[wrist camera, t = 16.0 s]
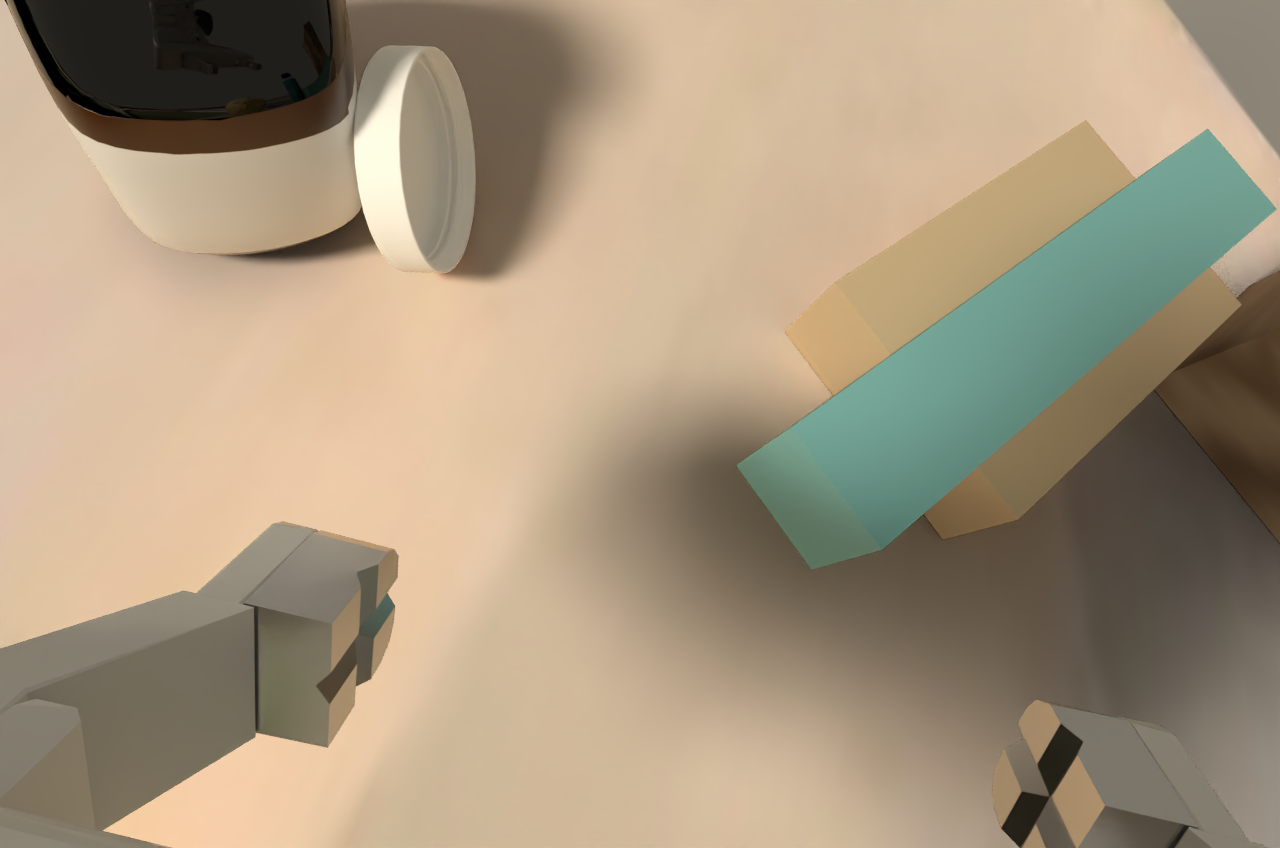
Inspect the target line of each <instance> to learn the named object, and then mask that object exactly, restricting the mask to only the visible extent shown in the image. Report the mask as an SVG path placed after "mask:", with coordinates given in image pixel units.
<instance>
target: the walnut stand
mask: <svg viewBox="0 0 1280 848" xmlns="http://www.w3.org/2000/svg"><path fill="white" fill-rule="evenodd" d="M1237 300H1238V301H1239V302H1240V303H1241V304H1242V305H1241V306H1240V307H1239V308H1238V309H1237V310H1236V311H1235V312H1234V313H1233V314H1232V315H1231V316H1230V317H1229V318H1228V319H1227V320H1225V321H1224V322H1223V323H1222V324H1221V325H1220V326H1219V327H1218V328H1217V329H1216V330H1215V331H1214V332H1213V333H1212V334H1211V335H1210V336H1209V337H1208V338H1207V339H1206V340H1205V341H1204V342H1203V343H1202V344H1201V345H1200V346H1198V347H1197V348H1196V349H1195V350H1194V351H1193V352H1192V353H1191V354H1190V355H1189V356H1188V357H1187V358H1186V359H1185V360H1184V361H1183V362H1182V363H1181V364H1180V365H1179V366H1178V367H1177V368H1176V369H1175V370H1174V371H1172V372H1171V373H1170V374H1169V375H1168V376H1167V377H1166V378H1165V379H1164V380H1163V381H1162V382H1161V383H1160V384H1159V385H1158V386H1157V387H1156V388H1155V389H1154V390H1155V391H1156V392H1157V393H1158V394H1159V396H1160V397H1161V398H1162V399H1163V401H1164V402H1165V403H1166V404H1167V406H1168V407H1169V408H1170V409H1171V410H1172V412H1173V413H1174V414H1175V415H1176V417H1177V418H1178V419H1179V420H1180V421H1181V423H1182V424H1183V425H1184V426H1185V428H1186V429H1187V430H1188V431H1189V432H1190V434H1191V435H1192V436H1193V437H1194V439H1195V440H1196V441H1197V442H1198V443H1199V445H1200V446H1201V447H1202V448H1203V450H1204V451H1205V452H1206V453H1207V454H1208V456H1209V457H1210V458H1211V459H1212V461H1213V462H1214V463H1215V464H1216V465H1217V467H1218V468H1219V469H1220V470H1221V472H1222V473H1223V474H1224V475H1225V476H1226V478H1227V479H1228V480H1229V481H1230V483H1231V484H1232V485H1233V486H1234V488H1235V489H1236V490H1237V491H1238V492H1239V494H1240V495H1241V496H1242V497H1243V499H1244V500H1245V501H1246V502H1247V503H1248V505H1249V506H1250V507H1251V508H1252V510H1253V511H1254V512H1255V513H1256V514H1257V516H1258V517H1259V518H1260V519H1261V521H1262V522H1263V523H1264V524H1265V525H1266V527H1267V528H1268V529H1269V530H1270V532H1271V533H1272V534H1273V535H1274V536H1275V538H1276V539H1277V540H1278V541H1279V543H1280V272H1277V273H1275V274H1273V275H1271V276H1269V277H1267V278H1265V279H1263V280H1261V281H1259V282H1256V283H1254V284H1252V285H1250V286H1249V287H1248V288H1247V289H1246V290H1245V291H1244V292H1243V293H1242V294H1241V295H1240V296H1239V297H1238V298H1237Z"/></svg>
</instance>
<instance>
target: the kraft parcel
mask: <svg viewBox="0 0 1280 848" xmlns="http://www.w3.org/2000/svg"><path fill="white" fill-rule="evenodd" d="M1134 180H1136V179H1135V178H1134V176H1133V175H1132V174H1131V173H1130V172H1129V171H1128V169H1127V168H1126V167H1125V166H1124V165H1123V163H1122V162H1121V161H1120V160H1119V159H1118V158H1117V156H1116V155H1115V154H1114V153H1113V152H1112V150H1111V149H1110V148H1109V147H1108V146H1107V145H1106V143H1105V142H1104V141H1103V140H1102V139H1101V137H1100V136H1099V135H1098V134H1097V133H1096V132H1095V130H1094V129H1093V128H1092V127H1091V126H1090V124H1089V123H1088V122H1087V121H1086V120H1085V121H1084V122H1082V123H1081V124H1079V125H1077V126H1076V127H1074V128H1073V129H1071V130H1070V131H1068V132H1067V133H1065V134H1064V135H1062V136H1060V137H1059V138H1057V139H1056V140H1054V141H1053V142H1051V143H1050V144H1048V145H1047V146H1045V147H1043V148H1042V149H1040V150H1039V151H1037V152H1036V153H1034V154H1033V155H1031V156H1030V157H1028V158H1026V159H1025V160H1023V161H1022V162H1020V163H1019V164H1017V165H1016V166H1014V167H1013V168H1011V169H1009V170H1008V171H1006V172H1005V173H1003V174H1002V175H1000V176H999V177H997V178H996V179H994V180H992V181H991V182H989V183H988V184H986V185H985V186H983V187H982V188H980V189H979V190H977V191H975V192H974V193H972V194H971V195H969V196H968V197H966V198H965V199H963V200H962V201H960V202H958V203H957V204H955V205H954V206H952V207H951V208H949V209H948V210H946V211H945V212H943V213H941V214H940V215H938V216H937V217H935V218H934V219H932V220H931V221H929V222H928V223H926V224H924V225H923V226H921V227H920V228H918V229H917V230H915V231H914V232H912V233H911V234H909V235H907V236H906V237H904V238H903V239H901V240H900V241H898V242H897V243H895V244H894V245H892V246H890V247H889V248H887V249H886V250H884V251H883V252H881V253H880V254H878V255H877V256H875V257H873V258H872V259H870V260H869V261H867V262H866V263H864V264H863V265H861V266H860V267H858V268H856V269H855V270H853V271H852V272H850V273H849V274H847V275H846V276H844V277H842V278H841V279H839V280H838V281H836V282H835V283H834V284H833V285H832V286H831V287H830V288H829V289H827V290H826V291H825V292H824V293H823V294H822V295H821V296H820V297H819V298H818V299H817V300H816V301H815V302H814V303H813V304H812V305H811V306H810V307H809V308H808V309H807V310H806V311H805V312H804V313H803V314H802V315H801V316H800V317H799V318H798V319H796V320H795V321H794V322H793V323H792V324H791V325H790V326H789V327H788V328H787V329H786V330H785V333H786V334H787V335H788V336H789V338H790V339H791V340H792V342H793V343H794V344H795V346H796V347H797V348H798V350H799V351H800V352H801V354H802V355H803V356H804V358H805V359H806V360H807V361H808V363H809V364H810V365H811V367H812V368H813V369H814V371H815V372H816V373H817V375H818V376H819V377H820V379H821V380H822V381H823V383H824V384H825V385H826V386H827V388H828V389H829V390H830V392H831V393H832V394H833V396H834V395H835V394H836V393H838V392H839V391H841V390H842V389H843V388H845V387H846V386H848V385H849V384H850V383H852V382H853V381H855V380H856V379H857V378H859V377H860V376H862V375H863V374H864V373H866V372H867V371H869V370H870V369H871V368H873V367H874V366H876V365H877V364H878V363H880V362H881V361H883V360H884V359H885V358H887V357H888V356H890V355H891V354H892V353H894V352H895V351H897V350H898V349H899V348H901V347H902V346H903V345H905V344H906V343H908V342H909V341H910V340H912V339H913V338H915V337H916V336H917V335H919V334H920V333H922V332H923V331H924V330H926V329H927V328H929V327H930V326H931V325H933V324H934V323H936V322H937V321H938V320H940V319H941V318H943V317H944V316H945V315H947V314H948V313H950V312H951V311H952V310H954V309H955V308H957V307H958V306H959V305H961V304H962V303H964V302H965V301H966V300H968V299H969V298H971V297H972V296H973V295H975V294H976V293H977V292H979V291H980V290H982V289H983V288H984V287H986V286H987V285H989V284H990V283H991V282H993V281H994V280H996V279H997V278H998V277H1000V276H1001V275H1003V274H1004V273H1005V272H1007V271H1008V270H1010V269H1011V268H1012V267H1014V266H1015V265H1017V264H1018V263H1019V262H1021V261H1022V260H1024V259H1025V258H1026V257H1028V256H1029V255H1031V254H1032V253H1033V252H1035V251H1036V250H1038V249H1039V248H1040V247H1042V246H1043V245H1045V244H1046V243H1047V242H1049V241H1050V240H1052V239H1053V238H1054V237H1056V236H1057V235H1058V234H1060V233H1061V232H1063V231H1064V230H1065V229H1067V228H1068V227H1070V226H1071V225H1072V224H1074V223H1075V222H1077V221H1078V220H1079V219H1081V218H1082V217H1084V216H1085V215H1086V214H1088V213H1089V212H1091V211H1092V210H1093V209H1095V208H1096V207H1098V206H1099V205H1100V204H1102V203H1103V202H1105V201H1106V200H1107V199H1109V198H1110V197H1112V196H1113V195H1114V194H1116V193H1117V192H1119V191H1120V190H1121V189H1123V188H1124V187H1126V186H1127V185H1128V184H1130V183H1131V182H1133V181H1134ZM1241 305H1242V304H1241V303H1240V302H1239V301H1238V300H1237V298H1236V297H1235V296H1234V295H1233V294H1232V292H1231V291H1230V290H1229V289H1228V288H1227V287H1226V285H1225V284H1224V283H1223V282H1222V281H1221V279H1220V278H1219V277H1218V276H1217V275H1216V274H1215V272H1214V271H1213V270H1212V269H1211V268H1210V267H1209V268H1208V269H1207V270H1205V271H1204V272H1203V273H1202V274H1201V275H1200V276H1198V277H1197V278H1196V279H1195V280H1194V281H1193V282H1192V283H1190V284H1189V285H1188V286H1187V287H1186V288H1185V289H1183V290H1182V291H1181V292H1180V293H1179V294H1178V295H1176V296H1175V297H1174V298H1173V299H1172V300H1171V301H1170V302H1168V303H1167V304H1166V305H1165V306H1164V307H1163V308H1161V309H1160V310H1159V311H1158V312H1157V313H1156V314H1154V315H1153V316H1152V317H1151V318H1150V319H1149V320H1148V321H1146V322H1145V323H1144V324H1143V325H1142V326H1141V327H1139V328H1138V329H1137V330H1136V331H1135V332H1134V333H1132V334H1131V335H1130V336H1129V337H1128V338H1127V339H1126V340H1124V341H1123V342H1122V343H1121V344H1120V345H1119V346H1117V347H1116V348H1115V349H1114V350H1113V351H1112V352H1110V353H1109V354H1108V355H1107V356H1106V357H1105V358H1104V359H1102V360H1101V361H1100V362H1099V363H1098V364H1097V365H1095V366H1094V367H1093V368H1092V369H1091V370H1090V371H1089V372H1087V373H1086V374H1085V375H1084V376H1083V377H1082V378H1080V379H1079V380H1078V381H1077V382H1076V383H1075V384H1073V385H1072V386H1071V387H1070V388H1069V389H1068V390H1067V391H1065V392H1064V393H1063V394H1062V395H1061V396H1060V397H1058V398H1057V399H1056V400H1055V401H1054V402H1053V403H1051V404H1050V405H1049V406H1048V407H1047V408H1046V409H1045V410H1043V411H1042V412H1041V413H1040V414H1039V415H1038V416H1036V417H1035V418H1034V419H1033V420H1032V421H1031V422H1029V423H1028V424H1027V425H1026V426H1025V427H1024V428H1023V429H1021V430H1020V431H1019V432H1018V433H1017V434H1016V435H1014V436H1013V437H1012V438H1011V439H1010V440H1009V441H1007V442H1006V443H1005V444H1004V445H1003V446H1002V447H1001V448H999V449H998V450H997V451H996V452H995V453H994V454H992V455H991V456H990V457H989V458H988V459H987V460H985V461H984V462H983V463H982V464H981V465H980V466H979V467H977V468H976V469H975V470H974V471H973V472H972V473H970V474H969V475H968V476H967V477H966V478H965V479H963V480H962V481H961V482H960V483H959V484H958V485H957V486H955V487H954V488H953V489H952V490H951V491H950V492H948V493H947V494H946V495H945V496H944V497H943V498H942V499H940V500H939V501H938V502H937V503H936V504H935V505H933V506H932V507H931V508H930V509H929V510H928V511H926V512H925V513H924V515H925V517H926V518H927V519H928V521H929V522H930V523H931V525H932V526H933V527H934V529H935V530H936V531H937V532H938V534H939V535H940V536H941V538H942V539H943V540H944V539H948V538H952V537H955V536H959V535H963V534H967V533H970V532H974V531H978V530H982V529H985V528H989V527H993V526H997V525H1000V524H1004V523H1008V522H1012V521H1015V520H1019V519H1020V518H1021V517H1022V516H1023V515H1024V514H1025V513H1026V512H1027V511H1028V510H1029V509H1030V508H1031V507H1032V506H1033V505H1034V504H1035V503H1036V502H1037V501H1038V500H1039V499H1041V498H1042V497H1043V496H1044V495H1045V494H1046V493H1047V492H1048V491H1049V490H1050V489H1051V488H1052V487H1053V486H1054V485H1055V484H1056V483H1057V482H1058V481H1059V480H1060V479H1061V478H1062V477H1063V476H1064V475H1065V474H1066V473H1068V472H1069V471H1070V470H1071V469H1072V468H1073V467H1074V466H1075V465H1076V464H1077V463H1078V462H1079V461H1080V460H1081V459H1082V458H1083V457H1084V456H1085V455H1086V454H1087V453H1088V452H1089V451H1090V450H1091V449H1092V448H1094V447H1095V446H1096V445H1097V444H1098V443H1099V442H1100V441H1101V440H1102V439H1103V438H1104V437H1105V436H1106V435H1107V434H1108V433H1109V432H1110V431H1111V430H1112V429H1113V428H1114V427H1115V426H1116V425H1117V424H1118V423H1119V422H1121V421H1122V420H1123V419H1124V418H1125V417H1126V416H1127V415H1128V414H1129V413H1130V412H1131V411H1132V410H1133V409H1134V408H1135V407H1136V406H1137V405H1138V404H1139V403H1140V402H1141V401H1142V400H1143V399H1144V398H1145V397H1147V396H1148V395H1149V394H1150V393H1151V392H1152V391H1153V390H1154V389H1155V388H1156V387H1157V386H1158V385H1159V384H1160V383H1161V382H1162V381H1163V380H1164V379H1165V378H1166V377H1167V376H1168V375H1169V374H1170V373H1171V372H1172V371H1174V370H1175V369H1176V368H1177V367H1178V366H1179V365H1180V364H1181V363H1182V362H1183V361H1184V360H1185V359H1186V358H1187V357H1188V356H1189V355H1190V354H1191V353H1192V352H1193V351H1194V350H1195V349H1196V348H1197V347H1198V346H1200V345H1201V344H1202V343H1203V342H1204V341H1205V340H1206V339H1207V338H1208V337H1209V336H1210V335H1211V334H1212V333H1213V332H1214V331H1215V330H1216V329H1217V328H1218V327H1219V326H1220V325H1221V324H1222V323H1223V322H1224V321H1225V320H1227V319H1228V318H1229V317H1230V316H1231V315H1232V314H1233V313H1234V312H1235V311H1236V310H1237V309H1238V308H1239V307H1240V306H1241Z"/></svg>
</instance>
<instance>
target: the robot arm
mask: <svg viewBox="0 0 1280 848" xmlns="http://www.w3.org/2000/svg"><path fill="white" fill-rule="evenodd" d="M397 578H398V554H397V553H396V551H395V549H392V548H388V547H384V546H380V545H376V544H372V543H368V542H364V541H360V540H356V539H353V538H349V537H345V536H341V535H337V534H333V533H329V532H325V531H318V530H316V529H312V528H308V527H304V526H300V525H296V524H291V523H287V522H278V523H274V524H272V525H271V526H270V527H268V528H267V529H266V530H265V531H264V532H263V533H262V534H261V535H260V536H259V537H257V538H256V539H255V540H254V541H253V542H252V543H251V544H250V545H249V546H248V547H246V548H245V549H244V550H243V551H242V552H241V553H240V554H239V555H238V556H237V557H235V558H234V559H233V560H232V561H231V562H230V563H229V564H228V565H227V566H226V567H224V568H223V569H222V570H221V571H220V572H219V573H218V574H217V575H216V576H215V577H213V578H212V579H211V580H210V581H209V582H208V583H207V584H206V585H205V586H204V587H202V588H201V589H200V590H199V591H198V592H197V593H192V592H187V591H181V592H178V593H175V594H172V595H168V596H165V597H162V598H159V599H156V600H153V601H150V602H146V603H143V604H140V605H137V606H134V607H131V608H127V609H124V610H121V611H118V612H115V613H112V614H109V615H105V616H102V617H99V618H96V619H93V620H90V621H86V622H83V623H80V624H77V625H74V626H71V627H68V628H64V629H61V630H58V631H55V632H52V633H49V634H45V635H42V636H39V637H36V638H33V639H30V640H27V641H23V642H20V643H17V644H14V645H11V646H8V647H4V648H1V649H0V848H171V847H167V846H162V845H158V844H154V843H150V842H146V841H142V840H138V839H134V838H130V837H125V836H121V835H117V834H113V833H109V832H105V831H102V830H104V829H106V828H107V827H109V826H110V825H112V824H114V823H115V822H117V821H119V820H120V819H122V818H124V817H125V816H127V815H128V814H130V813H132V812H133V811H135V810H137V809H138V808H140V807H142V806H143V805H145V804H146V803H148V802H150V801H151V800H153V799H155V798H156V797H158V796H160V795H161V794H163V793H164V792H166V791H168V790H169V789H171V788H173V787H174V786H176V785H178V784H179V783H181V782H182V781H184V780H186V779H187V778H189V777H191V776H192V775H194V774H196V773H197V772H199V771H200V770H202V769H204V768H205V767H207V766H209V765H210V764H212V763H213V762H215V761H217V760H218V759H220V758H222V757H223V756H225V755H227V754H228V753H230V752H231V751H233V750H235V749H236V748H238V747H240V746H241V745H243V744H245V743H246V742H248V741H249V740H251V739H253V738H254V737H255V736H256V733H260V734H265V735H270V736H275V737H279V738H284V739H289V740H294V741H299V742H303V743H308V744H313V745H318V746H323V747H327V748H328V746H329V745H330V743H331V742H332V740H333V738H334V737H335V735H336V734H337V732H338V731H339V729H340V727H341V726H342V724H343V723H344V721H345V719H346V718H347V716H348V715H349V713H350V712H351V710H352V708H353V707H354V703H355V689H356V686H358V685H360V684H362V683H364V682H366V681H368V680H370V679H371V678H372V676H373V675H374V673H375V671H376V670H377V668H378V666H379V665H380V663H381V661H382V658H383V656H384V653H385V651H386V648H387V646H388V643H389V641H390V636H391V632H392V627H393V623H394V614H395V605H394V603H393V602H392V600H391V599H390V597H389V595H388V594H387V592H388V591H389V589H390V588H391V586H392V585H393V583H394V582H395V581H396V579H397ZM1018 724H1019V727H1020V730H1021V733H1022V736H1023V739H1021V740H1020V741H1018V742H1016V743H1014V744H1012V745H1010V746H1009V747H1007V748H1005V749H1004V750H1003V752H1002V754H1001V756H1000V759H999V761H998V763H997V765H996V767H995V769H994V778H993V787H992V795H993V803H994V810H995V812H996V815H997V818H998V821H999V824H1000V827H1001V829H1002V830H1003V831H1004V832H1005V833H1006V834H1007V835H1008V836H1009V837H1010V838H1011V839H1012V840H1013V841H1014V842H1015V843H1016V844H1017V845H1018V847H1019V848H1267V847H1266V846H1264V845H1262V844H1258V843H1253V842H1250V841H1249V840H1248V838H1247V837H1246V835H1245V834H1244V833H1243V831H1242V830H1241V828H1240V827H1239V826H1238V824H1237V823H1236V821H1235V820H1234V818H1233V817H1232V816H1231V814H1230V813H1229V811H1228V810H1227V809H1226V807H1225V806H1224V804H1223V803H1222V802H1221V800H1220V799H1219V797H1218V796H1217V795H1216V793H1215V792H1214V790H1213V789H1212V787H1211V786H1210V785H1209V783H1208V782H1207V780H1206V779H1205V778H1204V776H1203V775H1202V773H1201V772H1200V771H1199V769H1198V768H1197V766H1196V765H1195V764H1194V762H1193V761H1192V759H1191V758H1190V756H1189V755H1188V754H1187V752H1186V751H1185V749H1184V748H1183V747H1182V745H1181V744H1180V742H1179V741H1178V740H1177V738H1176V737H1175V735H1174V734H1173V733H1171V732H1170V731H1168V730H1167V729H1166V728H1164V727H1163V726H1161V725H1157V724H1152V723H1147V722H1143V721H1138V720H1133V719H1128V718H1123V717H1117V718H1116V717H1112V716H1107V715H1103V714H1098V713H1094V712H1090V711H1085V710H1081V709H1077V708H1072V707H1068V706H1063V705H1059V704H1055V703H1050V702H1046V701H1041V700H1035V701H1034V702H1033V703H1032V704H1030V705H1029V706H1028V707H1027V708H1026V710H1025V711H1024V713H1023V715H1022V717H1021V718H1020V720H1019V722H1018Z"/></svg>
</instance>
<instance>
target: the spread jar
mask: <svg viewBox="0 0 1280 848" xmlns="http://www.w3.org/2000/svg"><path fill="white" fill-rule="evenodd" d="M5 2H6V3H7V5H8V7H9V9H10V12H11V14H12V16H13V18H14V21H15V23H16V25H17V27H18V30H19V32H20V34H21V36H22V38H23V40H24V42H25V44H26V47H27V49H28V51H29V53H30V55H31V57H32V59H33V61H34V64H35V66H36V68H37V70H38V72H39V74H40V76H41V78H42V79H43V81H44V83H45V85H46V87H47V89H48V90H49V92H50V94H51V96H52V98H53V99H54V101H55V103H56V105H57V107H58V109H59V110H60V112H61V114H62V116H63V117H64V119H65V121H66V122H67V124H68V125H69V127H70V129H71V130H72V132H73V133H74V135H75V137H76V138H77V140H78V141H79V143H80V144H81V146H82V147H83V149H84V150H85V152H86V153H87V155H88V156H89V158H90V160H91V161H92V163H93V164H94V166H95V167H96V169H97V170H98V172H99V174H100V175H101V177H102V178H103V180H104V181H105V183H106V184H107V186H108V188H109V189H110V191H111V192H112V194H113V195H114V197H115V198H116V200H117V201H118V203H119V204H120V206H121V207H122V209H123V210H124V211H125V213H126V214H127V216H128V217H129V218H130V219H131V221H132V222H133V223H134V224H135V226H136V227H137V228H139V229H140V230H141V231H142V232H143V233H144V234H145V235H146V236H148V237H149V238H150V239H151V240H153V241H154V242H155V243H158V244H160V245H162V246H164V247H167V248H170V249H174V250H178V251H184V252H192V253H199V254H211V255H243V254H255V253H263V252H270V251H275V250H280V249H285V248H289V247H293V246H297V245H300V244H303V243H307V242H309V241H312V240H315V239H318V238H320V237H322V236H325V235H327V234H329V233H331V232H333V231H335V230H337V229H339V228H340V227H342V226H343V225H345V224H346V223H348V222H349V221H350V220H352V219H353V218H354V217H355V216H356V215H357V214H358V213H359V211H360V209H361V207H362V208H363V212H364V215H365V218H366V221H367V224H368V227H369V230H370V233H371V235H372V237H373V239H374V241H375V243H376V245H377V247H378V249H379V250H380V252H381V253H382V255H383V256H384V258H385V259H386V260H387V261H388V262H389V263H390V264H391V265H392V266H393V267H394V268H396V269H398V270H401V271H403V272H423V273H448V272H450V271H451V270H452V269H454V268H455V267H456V266H457V264H458V263H459V262H460V260H461V258H462V256H463V254H464V252H465V249H466V246H467V243H468V240H469V236H470V232H471V227H472V221H473V214H474V205H475V188H476V168H475V151H474V140H473V133H472V125H471V120H470V115H469V110H468V105H467V101H466V98H465V94H464V90H463V87H462V85H461V82H460V79H459V77H458V74H457V72H456V70H455V68H454V66H453V64H452V62H451V61H450V60H449V58H448V57H447V56H446V54H445V53H444V52H443V51H441V50H440V49H438V48H437V47H433V46H398V45H387V46H384V47H382V48H380V49H378V50H377V52H376V53H375V54H374V55H373V56H372V58H371V59H370V60H369V62H368V64H367V66H366V68H365V71H364V73H363V75H362V79H361V83H360V86H359V90H357V82H356V73H355V65H354V57H353V49H352V42H351V35H350V28H349V21H348V14H347V8H346V2H345V0H5Z"/></svg>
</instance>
